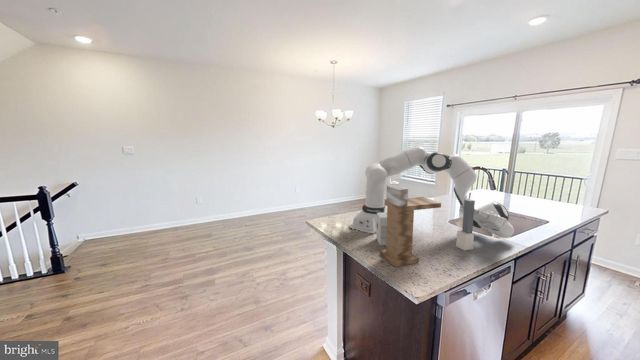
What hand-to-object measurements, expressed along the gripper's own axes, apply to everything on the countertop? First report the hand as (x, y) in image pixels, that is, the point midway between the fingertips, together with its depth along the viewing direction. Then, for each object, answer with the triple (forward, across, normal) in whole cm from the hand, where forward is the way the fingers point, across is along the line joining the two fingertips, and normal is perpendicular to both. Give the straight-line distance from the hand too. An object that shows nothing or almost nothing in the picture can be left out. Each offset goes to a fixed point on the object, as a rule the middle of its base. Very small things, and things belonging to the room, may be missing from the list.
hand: (469, 209), depth 117 cm
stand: (+19, 0, +34) cm, 39 cm away
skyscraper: (0, -48, +23) cm, 53 cm away
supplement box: (+20, -18, +34) cm, 43 cm away
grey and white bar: (-5, 0, +6) cm, 8 cm away
